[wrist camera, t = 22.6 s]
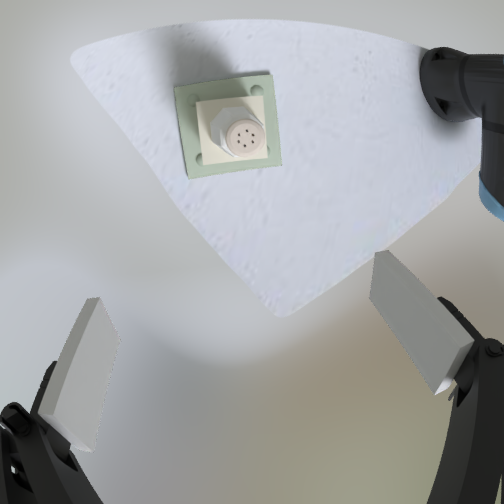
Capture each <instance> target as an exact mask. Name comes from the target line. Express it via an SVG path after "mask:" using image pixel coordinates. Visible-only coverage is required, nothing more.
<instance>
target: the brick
mask: <svg viewBox="0 0 504 504" xmlns="http://www.w3.org/2000/svg"><path fill="white" fill-rule="evenodd" d="M240 106H243V107H245V108H246V109H247V110H248V111H249V112H251V113H252V114H253V115H254V116H255V117H257V118H258V119H259V120H260V121H261V122H262V124H263V125H264V132H265V144H264V146H263V148H262V149H261V150H260V152H259V153H257V154H256V155H254V156H251V157H232V156H231V155H229V154H227V153H226V152H224V151H223V150H222V149H220V148H219V147H218V146H217V145H215V144H214V143H213V142H212V138H211V127H210V122H211V121H212V120H213V119H214V118H215V117H216V115H217V114H218V113H219V112H220V111H221V110H222V109H223V108H228V107H240ZM196 108H197V117H198V126H199V135H200V144H201V152H202V160H203V165H209V164H216V163H224V162H233V161H242V160H252V159H263V158H268V155H267V141H266V128H265V115H264V102H263V96H248V97H235V98H225V99H216V100H208V101H200V102H196Z"/></svg>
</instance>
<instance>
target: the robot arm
mask: <svg viewBox="0 0 504 504" xmlns="http://www.w3.org/2000/svg"><path fill="white" fill-rule="evenodd" d="M420 79H421V85H422V89H423V92H424V95H425V97H426V100H427V102H428V103H429V105H430V107H431V108H432V109H433V110H434V112H435V113H436V114H437V115H439V116H440V117H441V118H443V119H445V120H449V121H455V122H462V121H466V120H470V119H474V118H477V117H480V118H482V150H481V168H480V171H479V180H480V182H479V196H480V199H481V202H482V203H483V205H484V206H485V207H486V209H488V211H490V212H491V213H492V214H493V215H495V216H496V217H498V218H499V219H500V220H502V221H504V55H503V54H466V53H464V52H461V51H458V50H455V49H452V48H448V47H440V48H434V49H431V50H429V51H428V52H427V53H426V54H425V56H424V57H423V60H422V63H421V68H420ZM369 299H370V300H371V302H372V303H373V304H374V306H375V307H376V308H377V310H378V311H379V313H380V314H381V315H382V317H383V318H384V320H385V321H386V323H387V324H388V326H389V327H390V328H391V330H392V331H393V333H394V334H395V335H396V337H397V339H398V340H399V342H400V343H401V344H402V346H403V347H404V349H405V350H406V352H407V353H408V355H409V356H410V358H411V359H412V361H413V362H414V364H415V366H416V367H417V369H418V370H419V372H420V373H421V375H422V376H423V378H424V380H425V381H426V383H427V384H428V386H429V387H430V389H431V391H432V392H433V394H434V395H436V394H437V393H440V392H441V391H443V390H445V389H447V388H449V386H450V384H451V383H452V381H453V379H454V380H455V381H456V383H457V385H456V387H455V389H454V390H453V392H452V393H451V394H450V396H449V399H448V400H449V401H450V400H451V399H452V397H453V396H454V399H453V406H452V411H451V417H450V423H449V428H448V432H447V437H446V441H445V446H444V450H443V454H442V457H441V461H440V465H439V468H438V472H437V475H436V478H435V481H434V484H433V487H432V490H431V493H430V496H429V499H428V502H427V504H495V500H496V496H497V492H498V488H499V483H500V478H501V476H502V486H501V487H502V488H501V490H502V491H501V504H504V345H502V343H500V342H499V341H498V340H495V339H492V338H488V339H484V338H483V337H482V336H481V334H480V333H479V332H478V331H477V330H476V329H475V328H474V326H473V325H472V324H471V323H470V322H469V321H468V320H467V319H466V318H465V317H464V316H463V314H462V313H461V312H460V311H458V309H457V308H456V307H455V306H454V305H453V304H452V303H451V302H450V301H448V300H446V299H445V298H443V297H438V298H436V297H435V296H434V295H433V294H432V293H431V292H430V291H429V290H428V289H427V288H426V287H425V285H423V283H421V282H420V280H419V279H417V277H416V276H415V275H414V274H413V273H412V272H410V270H408V269H407V268H406V267H405V266H404V265H403V264H402V263H401V262H400V261H399V260H398V259H397V258H396V257H395V256H394V255H393V254H392V253H391V252H389V250H386V251H381V252H376V253H375V258H374V268H373V275H372V283H371V291H370V297H369ZM120 340H121V339H120V337H119V335H118V333H117V331H116V329H115V327H114V325H113V323H112V321H111V319H110V317H109V315H108V313H107V311H106V309H105V307H104V304H103V302H102V300H101V298H100V297H99V298H90V299H87V300H86V302H85V304H84V306H83V308H82V310H81V312H80V314H79V316H78V318H77V320H76V322H75V324H74V326H73V328H72V330H71V332H70V335H69V337H68V339H67V341H66V343H65V345H64V347H63V350H62V352H61V354H60V356H59V359H58V361H53V363H52V364H51V365H50V366H49V367H48V369H47V370H46V373H45V375H44V377H43V381H42V382H41V385H40V389H39V390H38V392H37V395H36V397H35V400H34V403H33V405H32V408H31V411H30V414H29V413H28V412H27V411H26V410H25V409H24V408H23V407H22V406H21V405H20V404H19V403H17V402H12V403H10V404H8V405H7V406H5V407H4V409H3V410H2V412H1V415H0V424H1V425H2V426H4V427H5V428H6V429H3V428H2V427H1V426H0V504H103V502H102V501H101V499H100V498H99V497H98V495H97V493H96V492H95V490H94V489H93V487H92V485H91V484H90V482H89V481H88V479H87V477H86V476H85V474H84V472H83V470H82V469H81V467H80V465H79V463H78V461H77V459H76V458H75V456H74V454H73V453H72V451H71V450H70V445H71V444H72V445H73V446H74V447H76V448H77V449H78V450H81V451H87V452H94V449H95V444H96V439H97V434H98V429H99V424H100V418H101V414H102V409H103V405H104V401H105V396H106V392H107V388H108V384H109V380H110V376H111V372H112V369H113V365H114V361H115V358H116V354H117V350H118V347H119V344H120ZM11 466H13V467H14V468H15V473H13V472H12V470H11Z"/></svg>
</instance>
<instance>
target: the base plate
mask: <svg viewBox="0 0 504 504" xmlns="http://www.w3.org/2000/svg"><path fill="white" fill-rule="evenodd" d="M174 92H175V99H176V106H177V113H178V119H179V126H180V132H181V138H182V144H183V150H184V156H185V162H186V168H187V173H188V179H194V178H200V177H206V176H212V175H218V174H224V173H231V172H237V171H244V170H251V169H259V168H267V167H275V166H282V158H281V147H280V137H279V127H278V118H277V108H276V99H275V91H274V82H273V75H260V76H248V77H239V78H230V79H222V80H215V81H208V82H202V83H196V84H190V85H185V86H180V87H175V88H174ZM248 96H263V102H264V115H265V128H266V141H267V155H268V158H263V159H252V160H242V161H233V162H224V163H216V164H209V165H203V160H202V152H201V144H200V135H199V126H198V117H197V108H196V102H200V101H208V100H216V99H225V98H235V97H248Z"/></svg>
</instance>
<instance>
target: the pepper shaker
mask: <svg viewBox="0 0 504 504" xmlns="http://www.w3.org/2000/svg"><path fill="white" fill-rule="evenodd" d="M210 127H211V138H212V142H213V143H214V144H215V145H217V146H218V147H219V148H220V149H222V150H223V151H224V152H226V153H227V154H229V155H231V156H232V157H251V156H254V155H256V154H257V153H259V152H260V150H261V149H262V148H263V146H264V144H265V132H264V125H263V124H262V122H261V121H260V120H259V119H258V118H257V117H255V116H254V115H253V114H252V113H251V112H249V111H248V110H247V109H246V108H245V107H243V106H240V107H228V108H223V109H222V110H221V111H220V112H219V113H218V114H217V115H216V117H215V118H214V119H213V120H212V121H211V122H210Z"/></svg>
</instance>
